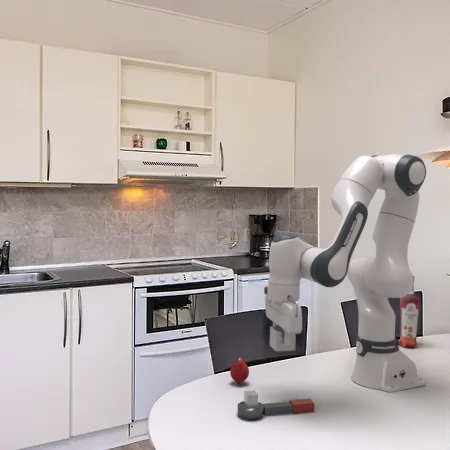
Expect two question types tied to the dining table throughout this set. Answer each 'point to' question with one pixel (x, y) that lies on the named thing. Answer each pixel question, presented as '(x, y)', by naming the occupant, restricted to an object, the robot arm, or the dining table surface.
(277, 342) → the gray cube
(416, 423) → the dining table surface
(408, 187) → the robot arm
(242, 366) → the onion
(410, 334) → the liquor
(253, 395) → the ratchet
